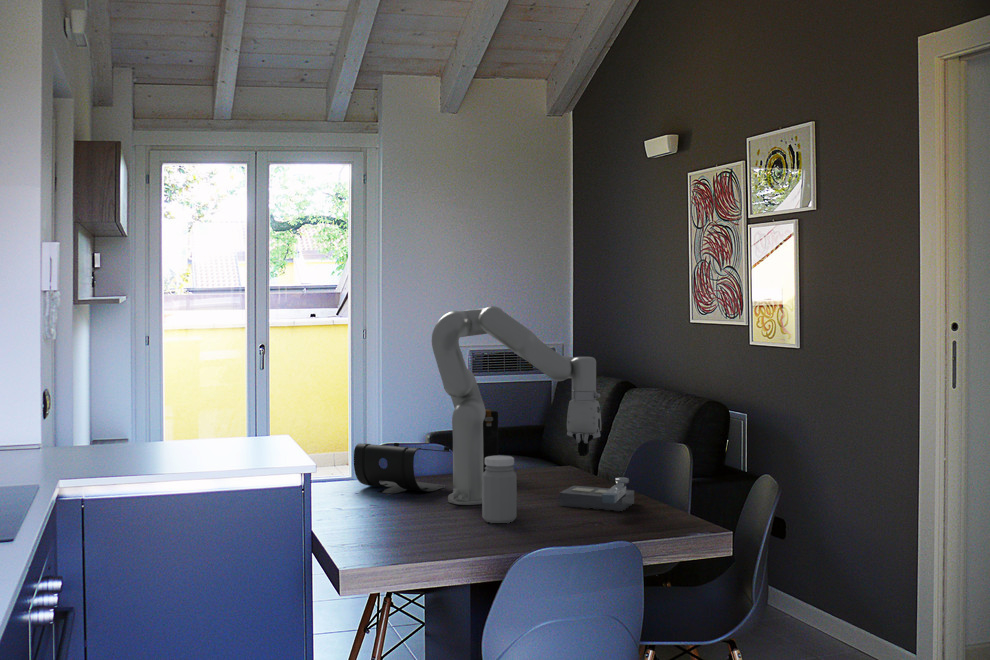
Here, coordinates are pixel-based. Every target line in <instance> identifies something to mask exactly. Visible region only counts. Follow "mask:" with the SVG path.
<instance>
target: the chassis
mask: <svg viewBox="0 0 990 660" xmlns="http://www.w3.org/2000/svg"><path fill="white" fill-rule="evenodd" d="M624 486H626V487H627V483H626V484H624ZM609 489H610V488H608V487H607V488H606V487H593V486H583V485H582V486H581V485H572V486H570V487H567V488H566V489H563V490H562V491H560V492H559V493H558V506H559V507H569V508H578V507H582V508H581V509H589V508H593V509H592V510H599V509H604V510H603V511H610V510H614V511H613V512H620V511H622V512H623V510H624V511H626V510H627V509H628V508H629V506H630V507H632V506H633V505H634V504H635V490H633V489H632V490H631V489H630V490H629V489H626V494H625V495H623V496H622V497H621V498H620V499H619V500H618V501H617V502H616V503H615V504H614V503H602V494H603V493H605V492H606V491H608V490H609ZM632 504H633V505H632ZM626 508H627V509H626Z"/></svg>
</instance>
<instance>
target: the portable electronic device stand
mask: <svg viewBox="0 0 990 660" xmlns="http://www.w3.org/2000/svg"><path fill="white" fill-rule="evenodd" d="M418 450H420V451H421V450H422V451H433V452H444V453H452V451H450V447H449V446H444V448H443V449H441V450H440V449H432V448H431V449H430V448H421V447H408V446H400V443H399V442H394V444H393V445H384V444H381V445H380V444H372V443H361V442H360V443H357V444H356V446H355V447H354V449H353V470H354V473H355V477H356V479H357V480H358V482H359V483H360V484H362V485H364V486H368V487H378V488H379V487H380V488H385V489H381V490H378V491H377V493H378V494H385V495H397V494H401V493H405V492H407V491H418V492H427V493H432V492H433V491H434V492H436V491H435V490H437V491H439V490H438V489H440V490H442V489H441V488H443V489H445V488H447V485H444V484H439V483H430V482H422V481H417V480H416V476H415V472H414V470H415V469H414V463H415V455H416V452H418ZM381 459H385V461H386V462H387V464H386V465H387V466H386V467H385V468H383V467H381V465H380V464H379V463H380V460H381ZM380 481H381V482H380ZM444 487H445V488H444ZM434 492H433V493H434Z"/></svg>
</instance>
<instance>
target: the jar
mask: <svg viewBox="0 0 990 660" xmlns="http://www.w3.org/2000/svg"><path fill="white" fill-rule="evenodd" d="M485 465H486V467H485V469H486V470H485V471H484V473H483V474H482V504H481V505H482V506H481V515H482V516H481V517H482V518H483V520H484V521H485V522H486V523H488V522H490V523H489V524H492V523H507V524H511V523H513V522H514V521H515V520H516V519H517V512H518V511H517V507H518V506H517V501H518V500H517V497H518V495H517V491H518V490H517V485H518V484H517V481H518V480H517V479H518V478H517V473H516V472H515V467H514V466H513V465H515V457H513V456H511V455H499V454H498V456H488V457H486V458H485ZM510 522H511V523H510Z"/></svg>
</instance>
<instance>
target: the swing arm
mask: <svg viewBox="0 0 990 660" xmlns="http://www.w3.org/2000/svg"><path fill="white" fill-rule="evenodd" d="M614 480H615V484H614V485H613V486H611V487H609V488H608V489H609V490H608V491H606V492H605V493H603V494H602V503H614V504H615V503H616V502H617V501H618V500H619V499H620V498H621V497H622V496H623V495H625V494H626V490H627V484H629V483H630V482H629V481H630V479H629V477H624V476H623V477H619V476H618V477H615V479H614ZM624 484H626V486H624Z"/></svg>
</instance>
